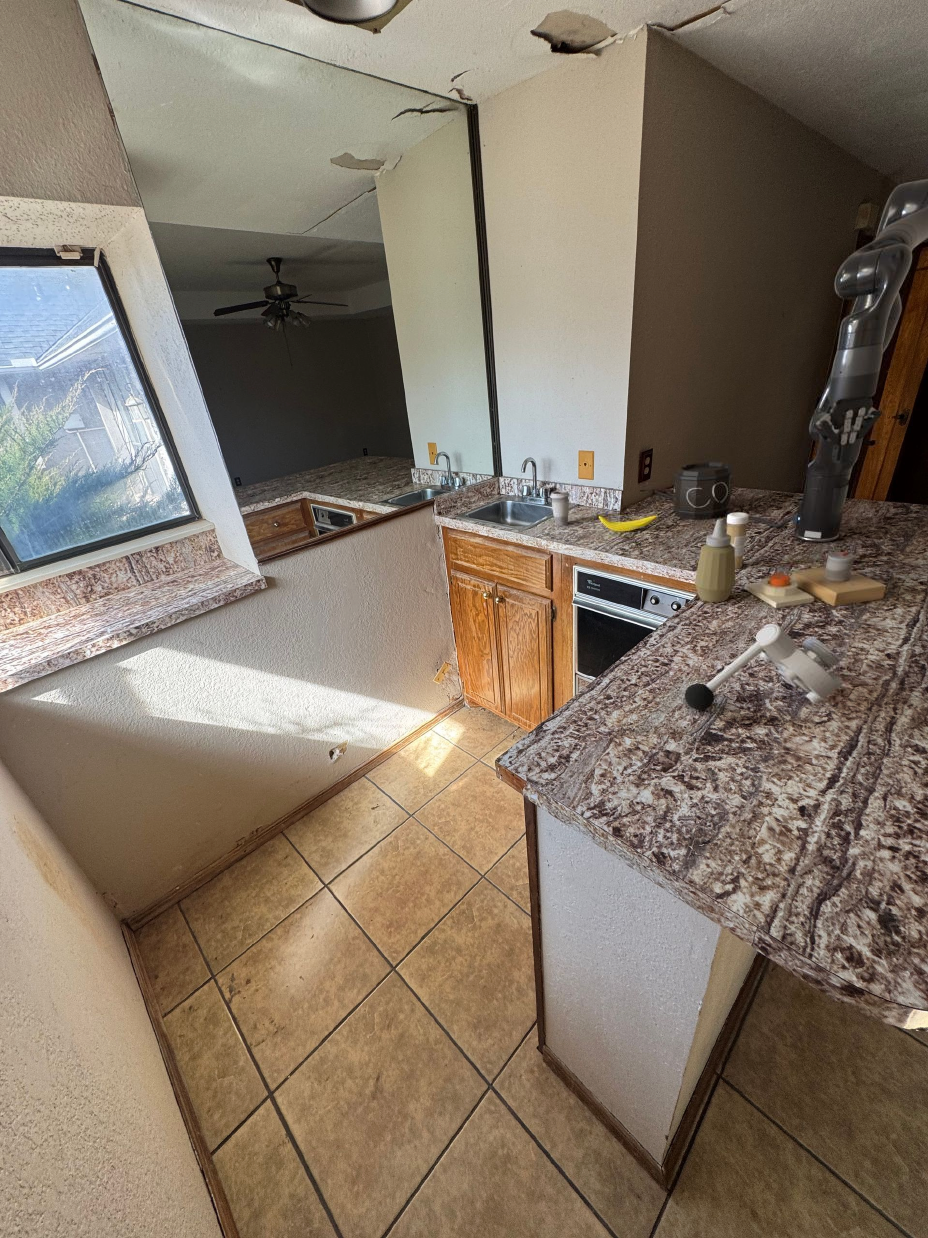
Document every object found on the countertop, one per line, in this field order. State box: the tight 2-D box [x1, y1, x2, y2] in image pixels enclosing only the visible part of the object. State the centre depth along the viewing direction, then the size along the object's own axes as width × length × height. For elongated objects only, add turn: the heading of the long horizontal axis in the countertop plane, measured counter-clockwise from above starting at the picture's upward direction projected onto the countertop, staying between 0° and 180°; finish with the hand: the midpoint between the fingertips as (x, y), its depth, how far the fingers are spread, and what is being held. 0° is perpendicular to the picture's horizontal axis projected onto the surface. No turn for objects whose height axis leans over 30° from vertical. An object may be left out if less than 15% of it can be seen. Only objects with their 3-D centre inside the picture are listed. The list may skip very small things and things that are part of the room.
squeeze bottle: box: [694, 518, 736, 603], centre depth 104 cm, size 8×8×18 cm
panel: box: [790, 565, 887, 607], centre depth 102 cm, size 13×10×3 cm
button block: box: [744, 577, 815, 609], centre depth 104 cm, size 11×8×3 cm
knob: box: [824, 550, 856, 582], centre depth 100 cm, size 4×4×5 cm
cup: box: [549, 489, 571, 527], centre depth 174 cm, size 7×7×12 cm
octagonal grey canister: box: [672, 461, 735, 521], centre depth 161 cm, size 18×18×16 cm
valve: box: [684, 623, 844, 711], centre depth 74 cm, size 10×20×15 cm
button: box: [769, 573, 791, 587], centre depth 103 cm, size 4×4×2 cm
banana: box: [596, 513, 658, 533], centre depth 157 cm, size 3×19×6 cm, turn 71°
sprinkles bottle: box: [726, 511, 750, 569], centre depth 119 cm, size 5×5×13 cm
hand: (839, 462), depth 102 cm, fingers closed
